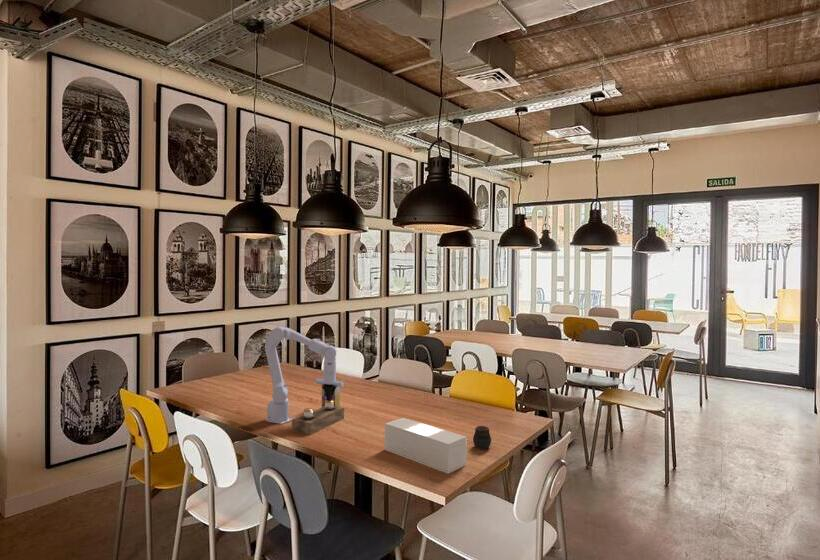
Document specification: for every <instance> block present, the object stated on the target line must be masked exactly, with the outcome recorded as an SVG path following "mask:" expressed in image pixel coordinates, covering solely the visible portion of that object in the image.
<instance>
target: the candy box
mask: <svg viewBox="0 0 820 560" xmlns="http://www.w3.org/2000/svg"><path fill="white" fill-rule="evenodd" d="M336 381H340V382H341V380H339V379H336ZM322 386H324V384H321V407H324V406H325V401H326V400H327V398H326V394H325V392H324V390H323V388H322ZM340 393H341V387H339V386H337V387H336V389H335V391H334V394H333V397H332V400H334V406H335V407H340V404H341V403H340V401H341V398H340V396H341V394H340Z"/></svg>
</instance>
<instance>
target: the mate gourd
mask: <svg viewBox="0 0 820 560" xmlns="http://www.w3.org/2000/svg"><path fill="white" fill-rule="evenodd" d="M474 429H475V430H474V434H473V439H472V441H473V445H474V447H476V448H477V449H478V450H487V449H489V447H490V446H491V444H492V437H491V433H490V428H489V427H488V426H487V425H477V426H475V428H474Z"/></svg>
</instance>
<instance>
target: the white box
mask: <svg viewBox="0 0 820 560" xmlns="http://www.w3.org/2000/svg"><path fill="white" fill-rule="evenodd" d="M467 440H468V439H467V436H465V435H463V434H459V433H455V432H452V431H450V430H446V429H443V428H440V427H436V426H432V425H429V424H426V423H423V422H419V421H416V420H412V419H409V418H406V417H401V418H398V419H394V420H392V421H389V422H385V423H384V450H385V451H387V452H389V453H392V454H395V455H397V456H400V457H402V458H405V459H408V460H410V461H413V462H416V463H419V464H422V465H424V466H426V467H430V468H431V469H433V470H437V471H441V472H442V473H445V474H450V473H453V472H454V471H457V470H459V469H461V468H463V467H465V466H466V465H467V447H468V446H467Z"/></svg>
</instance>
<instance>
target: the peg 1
mask: <svg viewBox="0 0 820 560" xmlns="http://www.w3.org/2000/svg"><path fill="white" fill-rule="evenodd" d="M313 411H314V408H313V407H307V408H304V409H303V415H304V420H308V421H310V420H312V419H313Z"/></svg>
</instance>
